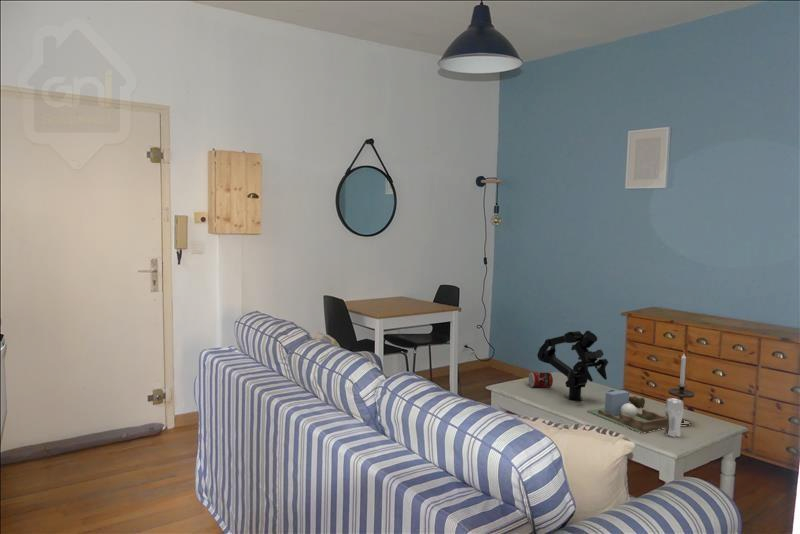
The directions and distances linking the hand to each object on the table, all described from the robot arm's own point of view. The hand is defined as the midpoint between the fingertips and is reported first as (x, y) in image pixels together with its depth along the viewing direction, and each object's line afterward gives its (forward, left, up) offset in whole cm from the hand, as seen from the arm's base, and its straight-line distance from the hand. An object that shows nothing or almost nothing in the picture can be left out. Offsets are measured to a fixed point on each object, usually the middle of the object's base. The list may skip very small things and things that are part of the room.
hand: (599, 380), depth 285 cm
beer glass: (+27, +30, -14) cm, 43 cm away
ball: (+13, +13, -10) cm, 21 cm away
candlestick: (+9, +35, -14) cm, 39 cm away
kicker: (+8, +8, -14) cm, 18 cm away
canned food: (-30, -24, -10) cm, 39 cm away
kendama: (-15, +13, -14) cm, 24 cm away
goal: (+13, +13, -14) cm, 23 cm away
